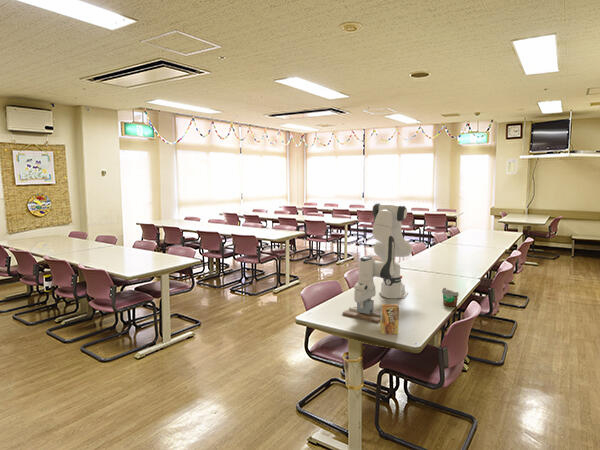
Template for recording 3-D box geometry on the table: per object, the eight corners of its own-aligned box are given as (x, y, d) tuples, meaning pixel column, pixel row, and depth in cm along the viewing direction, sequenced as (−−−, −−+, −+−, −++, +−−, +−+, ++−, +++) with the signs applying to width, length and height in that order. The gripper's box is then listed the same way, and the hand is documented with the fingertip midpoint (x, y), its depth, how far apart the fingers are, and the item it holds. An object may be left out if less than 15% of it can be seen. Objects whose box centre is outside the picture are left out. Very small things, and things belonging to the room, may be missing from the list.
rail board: (354, 308, 247) (354, 304, 246) (387, 316, 233) (388, 311, 232) (342, 314, 236) (342, 310, 235) (377, 323, 222) (377, 318, 221)
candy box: (396, 331, 210) (396, 303, 208) (398, 334, 206) (399, 306, 204) (379, 331, 209) (380, 303, 208) (381, 334, 205) (382, 306, 203)
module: (361, 308, 239) (361, 297, 238) (373, 311, 234) (373, 300, 233) (356, 311, 234) (356, 300, 233) (368, 314, 229) (369, 302, 228)
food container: (437, 303, 258) (437, 288, 257) (444, 302, 261) (445, 287, 259) (450, 308, 247) (451, 293, 246) (458, 307, 249) (458, 292, 248)
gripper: (369, 279, 242) (368, 301, 244) (352, 286, 226) (352, 309, 227) (378, 281, 238) (378, 303, 240) (362, 288, 222) (361, 312, 224)
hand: (365, 306), depth 233 cm, fingers closed on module, 6 cm apart
